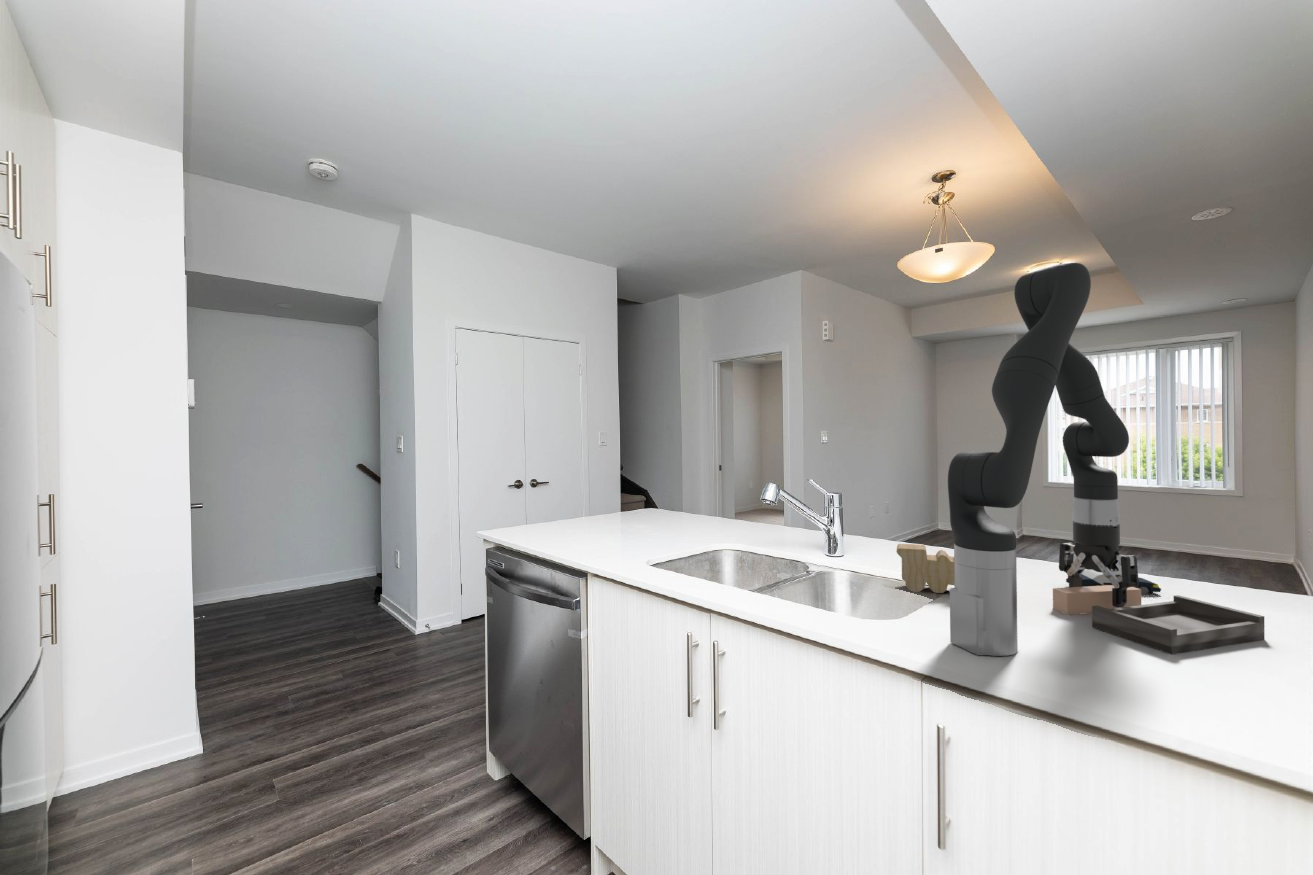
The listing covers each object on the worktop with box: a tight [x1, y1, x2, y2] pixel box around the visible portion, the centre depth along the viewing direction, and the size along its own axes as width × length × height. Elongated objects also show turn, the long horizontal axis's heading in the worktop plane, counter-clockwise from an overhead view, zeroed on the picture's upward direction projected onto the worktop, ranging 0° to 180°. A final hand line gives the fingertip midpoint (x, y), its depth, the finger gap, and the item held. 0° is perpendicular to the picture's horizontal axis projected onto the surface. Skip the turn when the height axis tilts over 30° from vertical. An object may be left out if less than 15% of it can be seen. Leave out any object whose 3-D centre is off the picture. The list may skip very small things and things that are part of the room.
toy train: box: [896, 543, 955, 594], centre depth 130 cm, size 6×17×10 cm, turn 66°
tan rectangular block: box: [1052, 585, 1142, 616], centre depth 115 cm, size 16×4×4 cm, turn 95°
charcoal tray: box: [1091, 594, 1265, 655], centre depth 101 cm, size 21×13×4 cm, turn 104°
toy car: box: [1065, 569, 1162, 595], centre depth 127 cm, size 5×16×5 cm, turn 78°
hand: (1096, 600), depth 115 cm, fingers open, 8 cm apart
